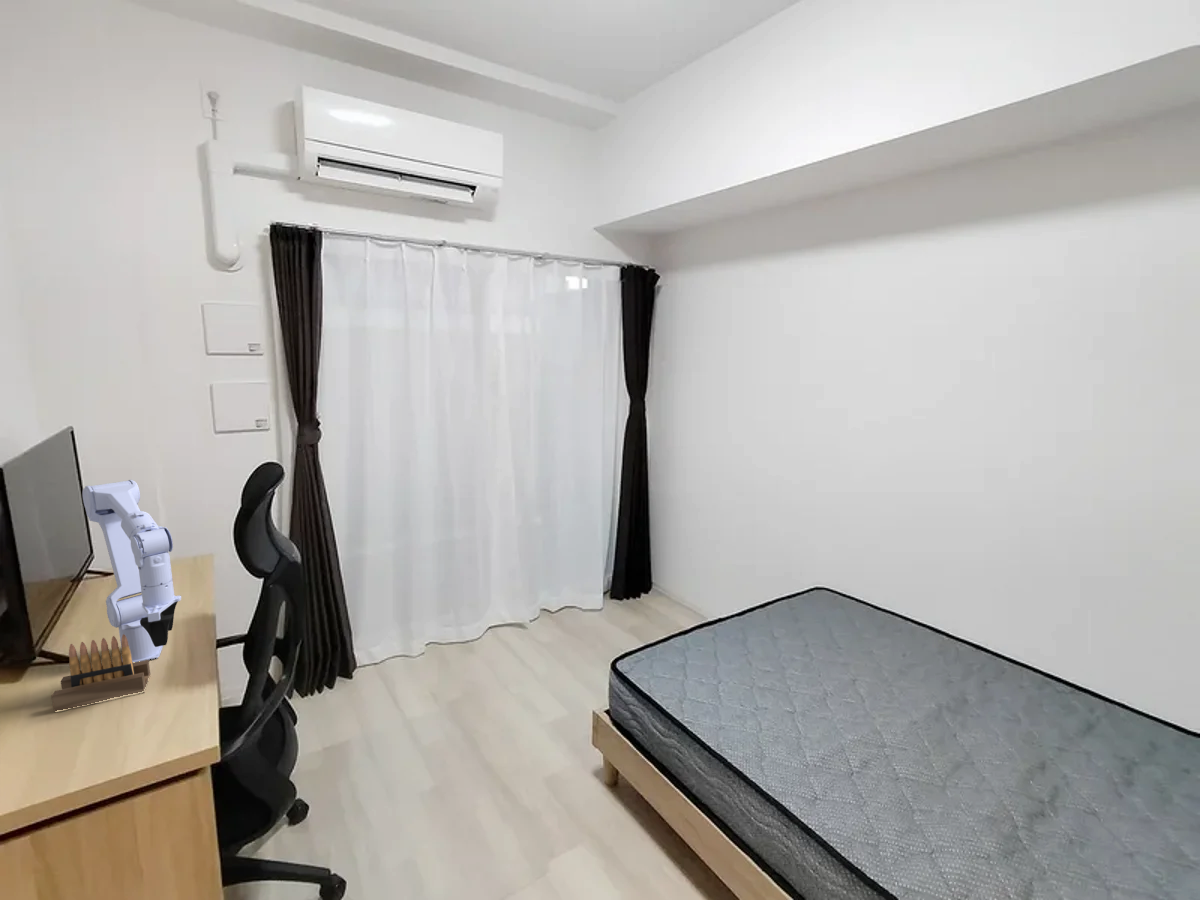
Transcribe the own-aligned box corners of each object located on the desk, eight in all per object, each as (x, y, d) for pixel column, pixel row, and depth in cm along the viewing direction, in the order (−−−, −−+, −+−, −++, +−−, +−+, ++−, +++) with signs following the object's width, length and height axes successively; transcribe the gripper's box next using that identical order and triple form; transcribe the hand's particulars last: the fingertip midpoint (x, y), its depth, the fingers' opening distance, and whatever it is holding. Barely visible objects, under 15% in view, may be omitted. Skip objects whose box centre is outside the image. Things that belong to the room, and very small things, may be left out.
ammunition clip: (136, 680, 130) (129, 631, 128) (134, 684, 129) (128, 635, 127) (74, 693, 125) (66, 643, 123) (72, 698, 124) (64, 646, 122)
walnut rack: (66, 693, 127) (63, 676, 126) (150, 675, 134) (148, 659, 134) (54, 713, 120) (51, 695, 119) (144, 693, 127) (141, 676, 127)
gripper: (173, 590, 124) (180, 647, 127) (182, 568, 137) (189, 620, 139) (132, 596, 121) (140, 655, 123) (145, 573, 133) (152, 627, 136)
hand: (163, 637), depth 131 cm, fingers open, 7 cm apart
